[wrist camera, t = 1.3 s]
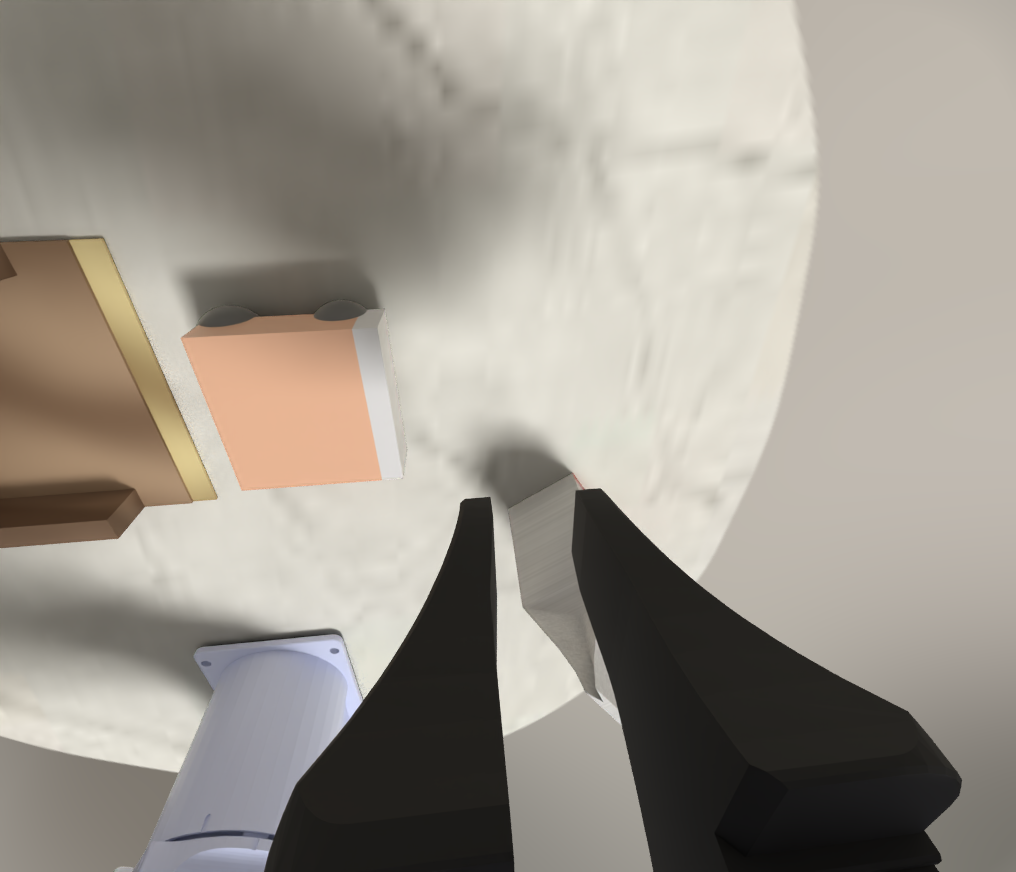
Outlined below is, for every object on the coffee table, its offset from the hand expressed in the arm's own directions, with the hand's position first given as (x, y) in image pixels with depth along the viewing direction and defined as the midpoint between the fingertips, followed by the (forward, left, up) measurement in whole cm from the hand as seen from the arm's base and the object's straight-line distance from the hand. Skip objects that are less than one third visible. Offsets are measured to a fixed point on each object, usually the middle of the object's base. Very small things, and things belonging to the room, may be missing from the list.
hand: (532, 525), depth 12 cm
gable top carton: (-9, -3, -10) cm, 14 cm away
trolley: (0, +8, -9) cm, 12 cm away
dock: (0, +19, -9) cm, 21 cm away
